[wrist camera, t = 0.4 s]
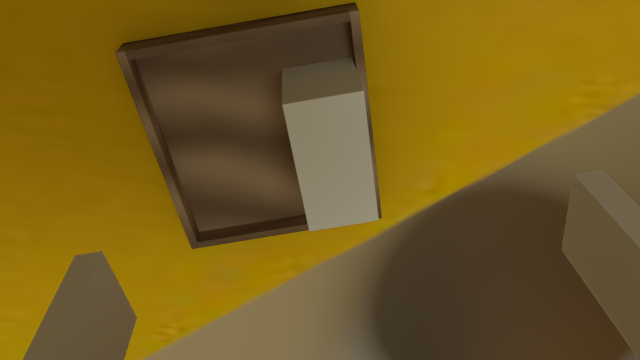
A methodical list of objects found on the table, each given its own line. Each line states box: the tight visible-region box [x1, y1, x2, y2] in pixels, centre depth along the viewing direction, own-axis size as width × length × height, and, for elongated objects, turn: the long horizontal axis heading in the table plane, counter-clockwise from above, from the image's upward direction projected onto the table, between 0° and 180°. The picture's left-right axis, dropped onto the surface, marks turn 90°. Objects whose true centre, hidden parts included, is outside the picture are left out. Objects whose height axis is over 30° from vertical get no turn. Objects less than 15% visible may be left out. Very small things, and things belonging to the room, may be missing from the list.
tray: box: [116, 3, 382, 249], centre depth 38 cm, size 17×16×2 cm
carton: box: [282, 57, 379, 232], centre depth 36 cm, size 10×5×6 cm, turn 9°
